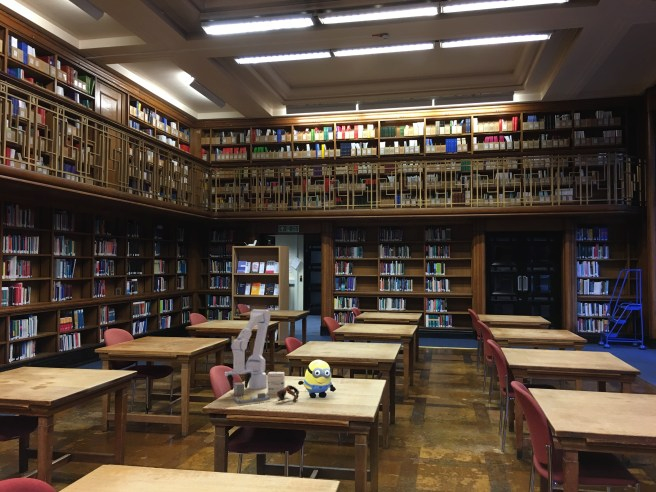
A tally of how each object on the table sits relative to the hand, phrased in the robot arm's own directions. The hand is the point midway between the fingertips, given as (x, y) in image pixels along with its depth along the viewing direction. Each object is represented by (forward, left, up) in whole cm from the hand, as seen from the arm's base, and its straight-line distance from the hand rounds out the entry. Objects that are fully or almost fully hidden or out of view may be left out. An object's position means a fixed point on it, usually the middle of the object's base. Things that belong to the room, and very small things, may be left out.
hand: (238, 388), depth 261 cm
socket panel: (-3, +13, -4) cm, 13 cm away
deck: (0, 0, -4) cm, 4 cm away
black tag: (-7, +16, -2) cm, 17 cm away
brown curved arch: (-20, +18, -5) cm, 27 cm away
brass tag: (+1, +16, -2) cm, 16 cm away
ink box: (-19, +6, -4) cm, 20 cm away
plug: (0, 0, -3) cm, 3 cm away
